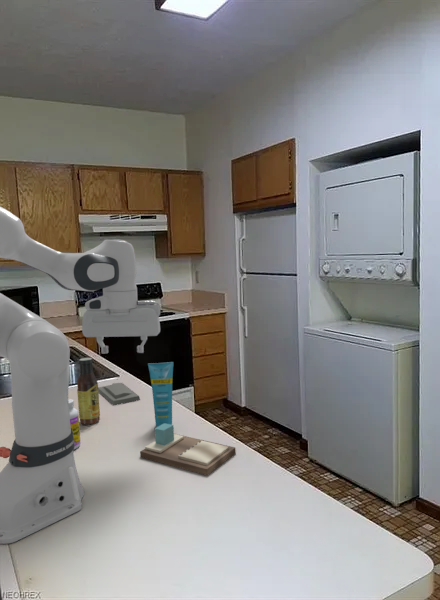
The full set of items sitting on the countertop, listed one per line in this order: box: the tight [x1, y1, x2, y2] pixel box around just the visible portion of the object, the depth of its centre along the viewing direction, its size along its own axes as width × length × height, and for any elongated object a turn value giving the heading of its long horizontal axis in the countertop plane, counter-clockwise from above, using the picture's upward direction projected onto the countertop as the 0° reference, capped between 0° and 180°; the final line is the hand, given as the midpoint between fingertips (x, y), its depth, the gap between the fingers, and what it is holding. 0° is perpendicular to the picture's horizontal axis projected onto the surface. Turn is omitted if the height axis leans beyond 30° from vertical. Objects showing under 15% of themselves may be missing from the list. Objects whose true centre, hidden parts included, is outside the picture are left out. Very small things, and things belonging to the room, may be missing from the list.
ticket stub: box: [144, 423, 185, 453], centre depth 122 cm, size 10×5×5 cm, turn 148°
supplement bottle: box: [68, 398, 81, 451], centre depth 126 cm, size 7×7×13 cm
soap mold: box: [98, 382, 141, 406], centre depth 169 cm, size 10×20×4 cm, turn 29°
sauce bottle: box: [76, 357, 101, 425], centre depth 143 cm, size 7×6×20 cm
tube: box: [147, 361, 174, 427], centre depth 138 cm, size 7×5×19 cm, turn 98°
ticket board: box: [139, 433, 237, 476], centre depth 118 cm, size 13×20×2 cm, turn 58°
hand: (122, 352), depth 124 cm, fingers open, 8 cm apart
